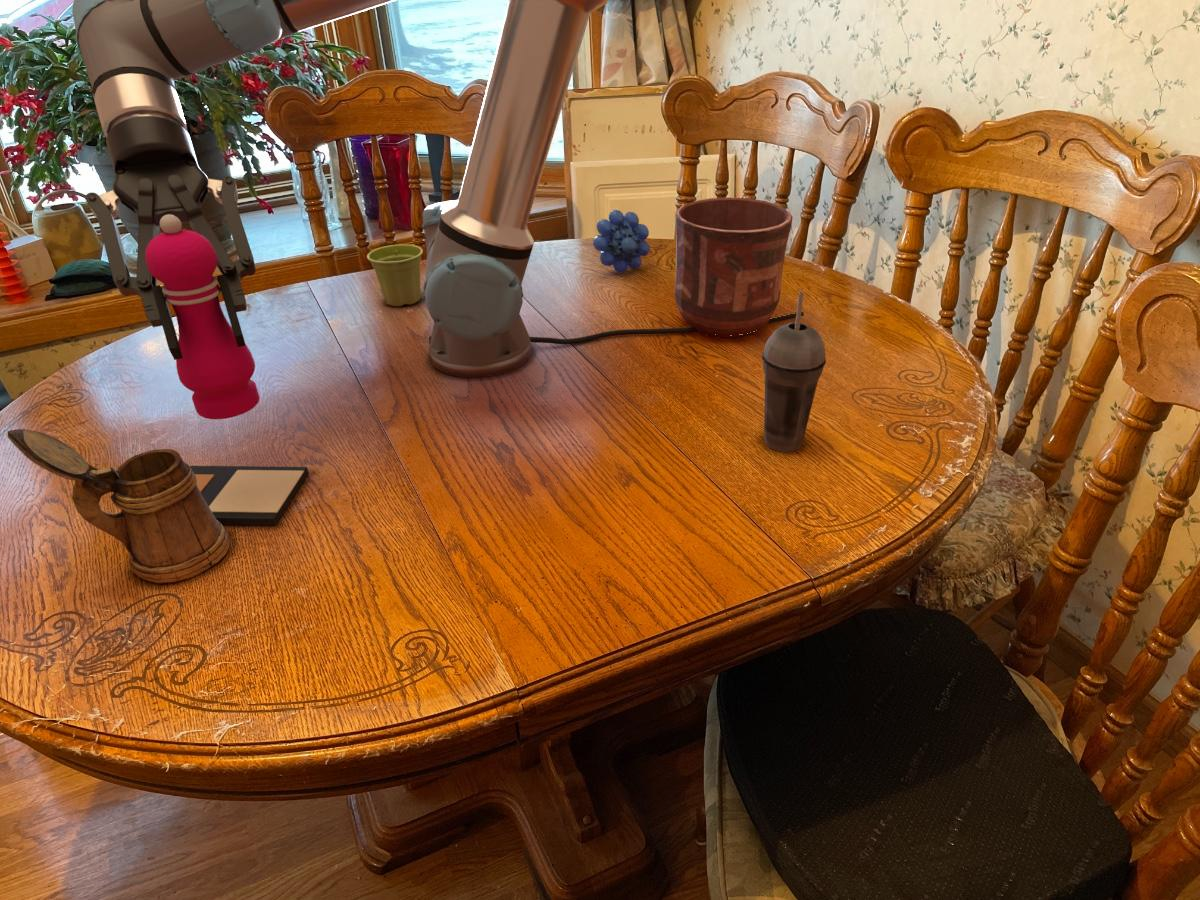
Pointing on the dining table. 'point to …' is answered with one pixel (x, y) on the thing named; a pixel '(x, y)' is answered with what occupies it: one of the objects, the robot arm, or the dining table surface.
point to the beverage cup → (790, 381)
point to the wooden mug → (139, 506)
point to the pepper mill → (201, 323)
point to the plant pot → (398, 272)
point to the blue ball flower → (621, 241)
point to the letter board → (248, 492)
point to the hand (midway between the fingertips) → (208, 347)
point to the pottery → (729, 264)
